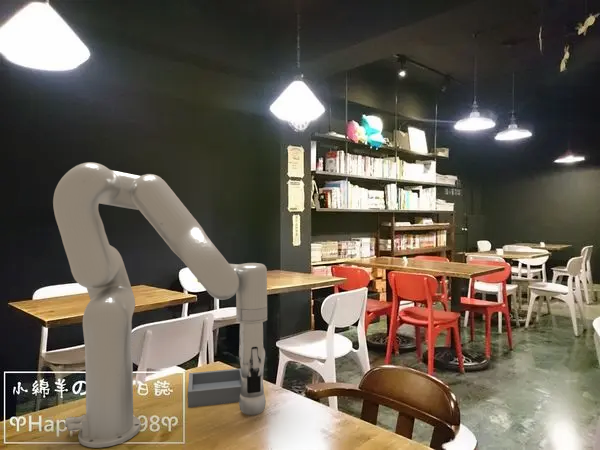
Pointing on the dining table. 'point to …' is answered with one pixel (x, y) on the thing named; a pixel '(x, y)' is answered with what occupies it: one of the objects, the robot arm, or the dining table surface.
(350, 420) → the dining table surface
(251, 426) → the dining table surface
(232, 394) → the grey bin
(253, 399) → the plastic bottle
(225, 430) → the dining table surface
